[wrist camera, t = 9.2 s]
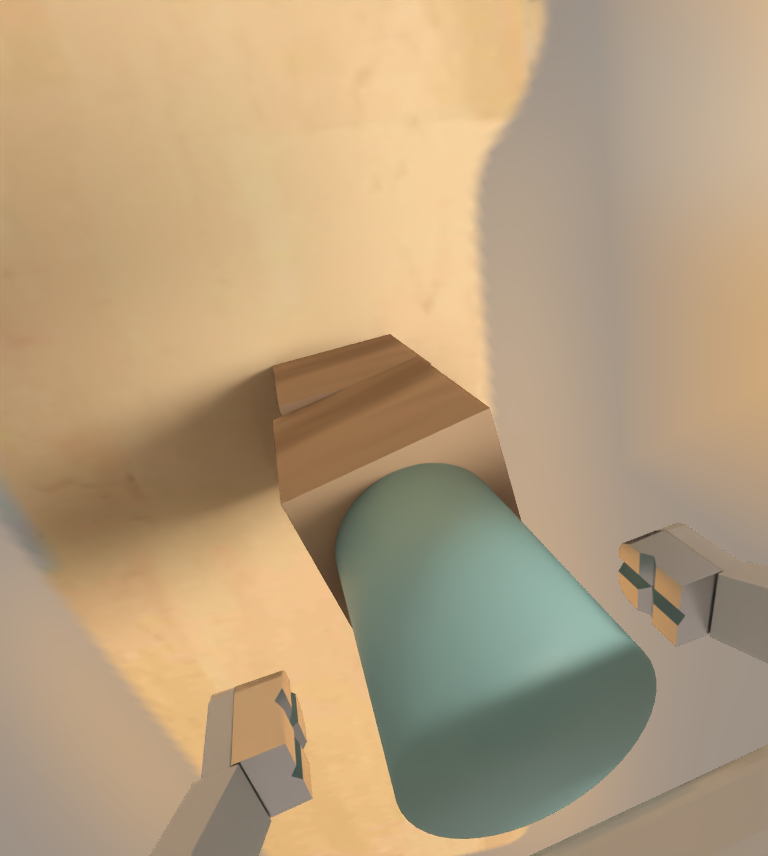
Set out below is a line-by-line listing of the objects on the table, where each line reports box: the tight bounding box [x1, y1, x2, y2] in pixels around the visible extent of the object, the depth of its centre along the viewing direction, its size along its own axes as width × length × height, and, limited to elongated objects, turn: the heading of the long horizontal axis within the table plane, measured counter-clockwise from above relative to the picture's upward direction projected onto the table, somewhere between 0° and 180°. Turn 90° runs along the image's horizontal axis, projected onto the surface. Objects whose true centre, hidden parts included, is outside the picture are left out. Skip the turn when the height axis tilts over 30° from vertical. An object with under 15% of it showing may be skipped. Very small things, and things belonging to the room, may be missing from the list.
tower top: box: [272, 356, 521, 629], centre depth 16 cm, size 6×6×6 cm
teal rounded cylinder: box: [335, 463, 656, 839], centre depth 11 cm, size 5×5×6 cm
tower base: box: [273, 334, 431, 416], centre depth 21 cm, size 6×6×6 cm
